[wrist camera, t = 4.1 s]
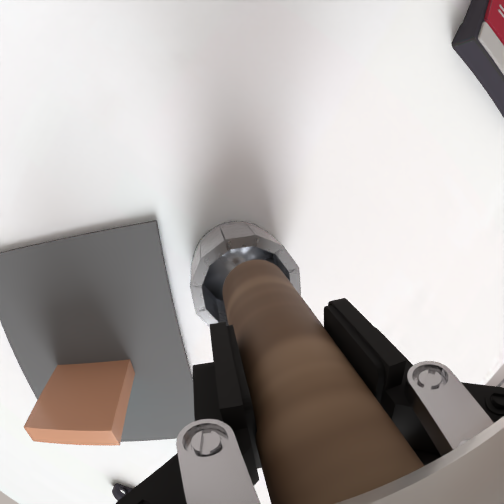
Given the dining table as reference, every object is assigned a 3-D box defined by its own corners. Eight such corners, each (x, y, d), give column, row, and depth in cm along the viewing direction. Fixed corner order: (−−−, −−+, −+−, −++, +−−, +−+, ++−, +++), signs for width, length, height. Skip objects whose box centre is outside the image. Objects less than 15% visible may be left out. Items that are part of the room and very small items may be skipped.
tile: (57, 364, 22) (23, 427, 14) (130, 359, 23) (111, 430, 15) (64, 379, 22) (34, 443, 14) (135, 375, 23) (121, 447, 15)
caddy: (185, 228, 21) (182, 246, 17) (274, 215, 22) (295, 228, 17) (200, 310, 23) (202, 346, 18) (282, 296, 24) (302, 327, 19)
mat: (-17, 256, 19) (-20, 258, 18) (156, 220, 21) (155, 221, 20) (63, 437, 24) (62, 440, 24) (208, 430, 26) (208, 434, 26)
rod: (217, 265, 15) (313, 626, 1) (284, 254, 15) (511, 522, 2) (227, 324, 16) (306, 626, 2) (289, 313, 16) (442, 571, 3)
